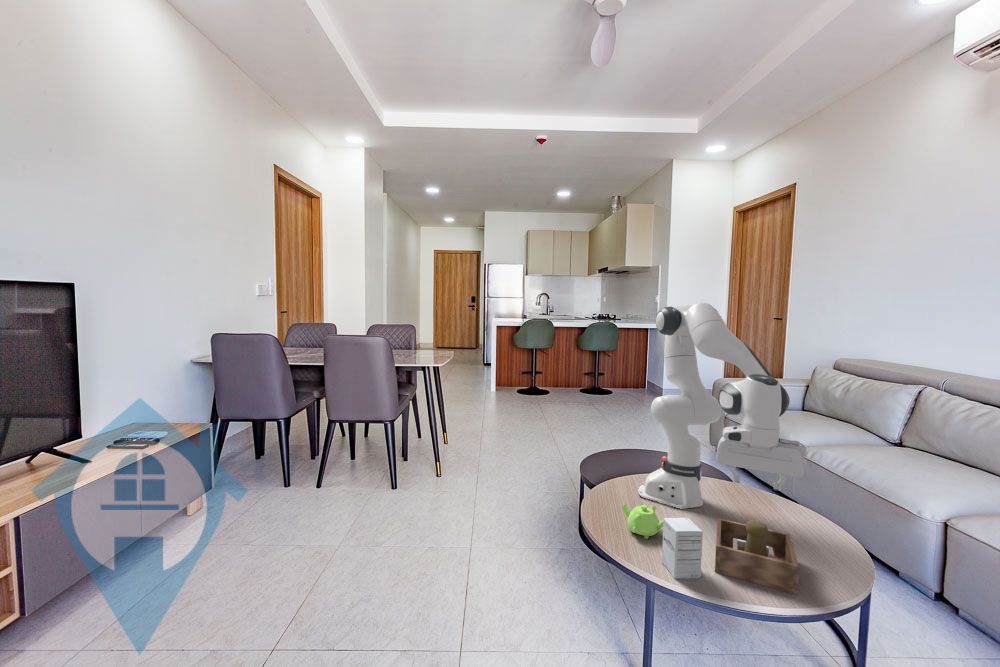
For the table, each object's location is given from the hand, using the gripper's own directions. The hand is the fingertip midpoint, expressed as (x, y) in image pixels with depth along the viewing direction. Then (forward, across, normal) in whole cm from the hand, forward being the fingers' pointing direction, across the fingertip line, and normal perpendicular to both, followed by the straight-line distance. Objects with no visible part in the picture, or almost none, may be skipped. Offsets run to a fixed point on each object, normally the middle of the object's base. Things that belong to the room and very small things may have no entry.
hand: (756, 485), depth 114 cm
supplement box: (+22, +17, +13) cm, 31 cm away
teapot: (+22, +29, -3) cm, 37 cm away
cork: (+21, -1, +1) cm, 21 cm away
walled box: (+22, 0, 0) cm, 22 cm away
